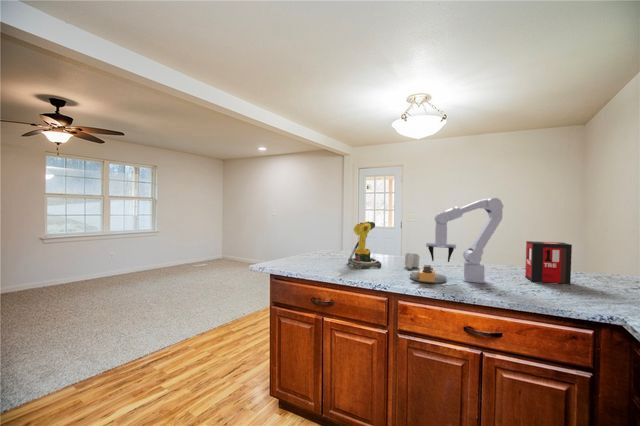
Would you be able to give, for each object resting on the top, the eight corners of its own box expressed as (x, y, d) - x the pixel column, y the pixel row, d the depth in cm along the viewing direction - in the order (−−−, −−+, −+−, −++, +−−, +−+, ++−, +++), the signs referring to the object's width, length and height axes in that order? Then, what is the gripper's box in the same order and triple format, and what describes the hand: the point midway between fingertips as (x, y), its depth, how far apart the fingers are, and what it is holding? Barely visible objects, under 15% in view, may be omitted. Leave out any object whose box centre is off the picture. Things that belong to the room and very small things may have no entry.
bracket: (434, 277, 155) (435, 270, 155) (434, 282, 147) (434, 273, 147) (412, 275, 159) (412, 268, 159) (410, 279, 151) (411, 271, 151)
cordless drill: (384, 268, 185) (385, 223, 185) (354, 269, 182) (355, 223, 181) (373, 262, 204) (374, 221, 203) (346, 263, 200) (346, 221, 199)
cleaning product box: (531, 282, 154) (532, 243, 153) (525, 278, 162) (526, 241, 162) (570, 285, 149) (571, 244, 148) (561, 280, 157) (563, 242, 157)
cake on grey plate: (446, 276, 164) (446, 265, 163) (446, 285, 147) (446, 272, 147) (411, 273, 171) (412, 263, 170) (408, 281, 154) (408, 269, 154)
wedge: (430, 278, 153) (430, 265, 153) (430, 280, 149) (430, 266, 149) (424, 278, 154) (424, 264, 154) (423, 280, 150) (424, 266, 150)
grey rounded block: (402, 268, 181) (403, 251, 183) (405, 269, 190) (406, 253, 192) (415, 270, 178) (416, 253, 179) (418, 270, 187) (419, 254, 188)
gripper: (426, 235, 158) (425, 261, 158) (456, 236, 152) (455, 263, 152) (426, 234, 164) (426, 259, 165) (456, 235, 159) (455, 261, 159)
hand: (440, 261), depth 159 cm, fingers open, 7 cm apart
